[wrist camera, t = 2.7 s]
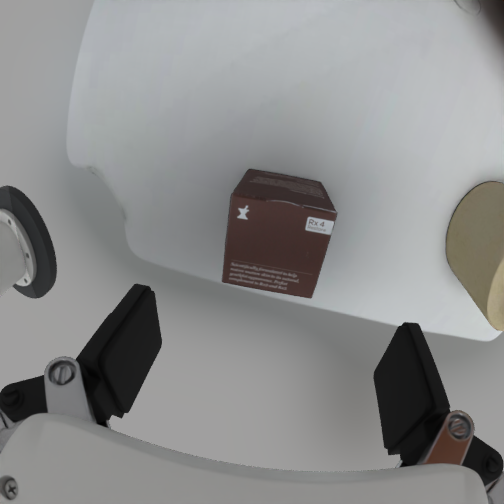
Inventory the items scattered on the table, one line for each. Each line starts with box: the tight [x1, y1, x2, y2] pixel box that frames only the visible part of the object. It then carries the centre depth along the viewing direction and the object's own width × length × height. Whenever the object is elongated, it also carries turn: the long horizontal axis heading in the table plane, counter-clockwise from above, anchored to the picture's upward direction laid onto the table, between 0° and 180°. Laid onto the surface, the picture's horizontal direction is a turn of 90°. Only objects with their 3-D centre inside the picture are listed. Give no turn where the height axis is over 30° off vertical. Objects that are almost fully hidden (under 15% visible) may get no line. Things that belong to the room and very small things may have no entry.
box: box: [222, 169, 337, 298], centre depth 20 cm, size 6×6×7 cm
